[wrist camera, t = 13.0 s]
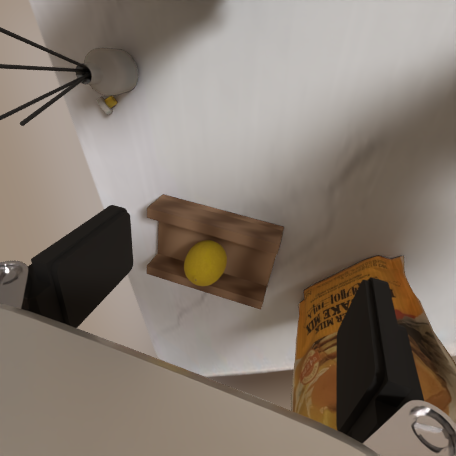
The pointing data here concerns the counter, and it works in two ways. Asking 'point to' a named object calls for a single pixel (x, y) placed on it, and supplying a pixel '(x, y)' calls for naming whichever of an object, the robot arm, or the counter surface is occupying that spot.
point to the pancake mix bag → (327, 340)
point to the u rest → (222, 234)
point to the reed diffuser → (86, 76)
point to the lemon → (205, 263)
